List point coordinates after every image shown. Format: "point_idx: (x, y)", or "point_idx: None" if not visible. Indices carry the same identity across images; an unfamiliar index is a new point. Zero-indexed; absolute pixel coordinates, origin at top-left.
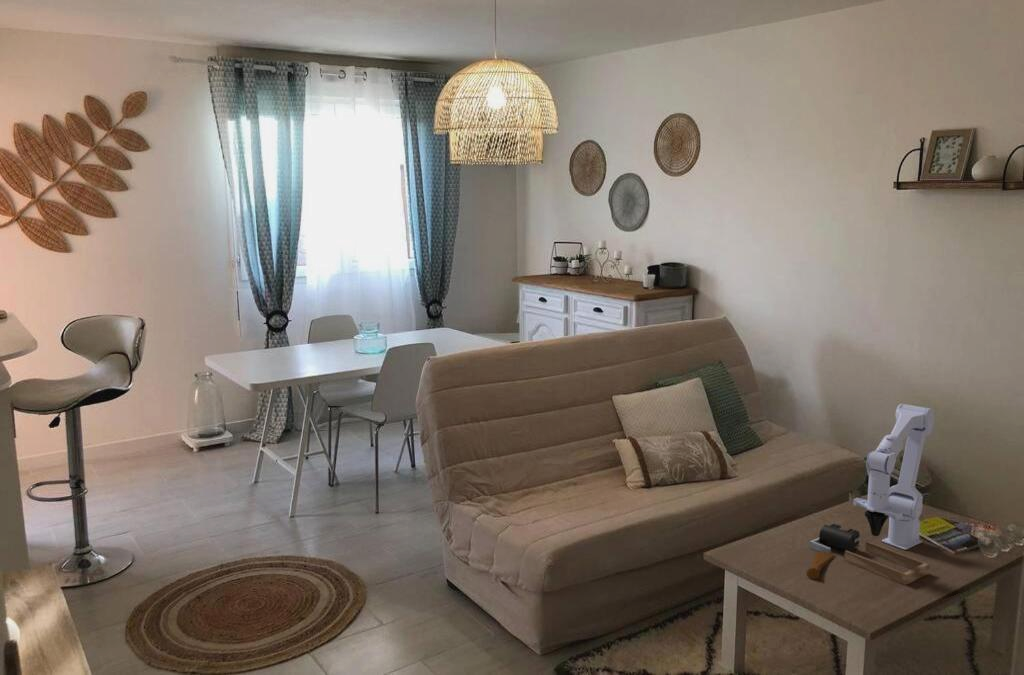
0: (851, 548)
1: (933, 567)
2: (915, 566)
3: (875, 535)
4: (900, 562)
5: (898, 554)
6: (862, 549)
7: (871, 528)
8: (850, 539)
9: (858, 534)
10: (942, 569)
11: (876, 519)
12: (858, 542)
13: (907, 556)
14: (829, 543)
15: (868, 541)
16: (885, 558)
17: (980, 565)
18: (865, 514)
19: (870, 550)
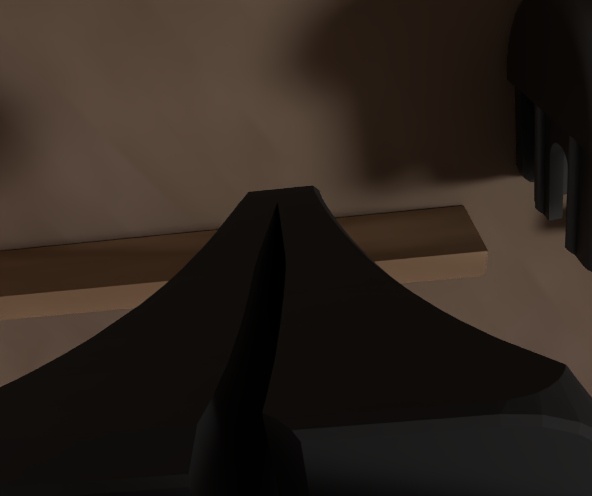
0: (525, 29)
1: (43, 362)
2: (31, 264)
3: (247, 194)
4: (157, 243)
5: (168, 279)
6: (497, 210)
7: (315, 224)
8: (586, 33)
9: (583, 244)
10: (2, 379)
11: (79, 387)
12: (543, 204)
13: (98, 300)
14: None
15: (479, 273)
16: None
17: None
18: (541, 376)
19: (424, 220)
